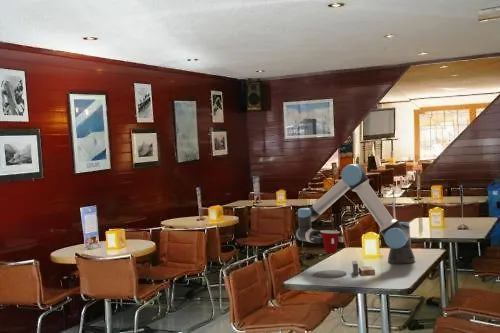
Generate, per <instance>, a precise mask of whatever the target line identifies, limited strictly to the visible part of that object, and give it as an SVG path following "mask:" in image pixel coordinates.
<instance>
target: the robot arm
mask: <svg viewBox="0 0 500 333" xmlns="http://www.w3.org/2000/svg"><path fill="white" fill-rule="evenodd" d="M340 177H341V179H339V181H337V183H335V184H334V185H333V186H331V188H330V189H329V190H327V192H326V193H324V194H323V195H322V196H321V197H319V199H318V200H317V201H316V202H315V203H314V204H312V205H311V206H310V207H301V208H299V209H297V219H298V220H297V221H298V229H297V230H296V232H295V236H296V238H297V240H299V241H303V242H309V243H313V244H320V243H323V239H322V235H321V232H320V231H321V230H320V229H319V230H318V229H313V228H312V222H314V221H316V220H317V219H318V218H319V217H320V216H321V215H322V214H323V213H324V212H325V211H327V209H328V208H330V207H331V206H332V205H333V204H334V203H336V201H337V200H339V199H340V198H341V197H342V196H344V194H346V192H347V191H349V190H351V191H352V192H355V193H356V194H357V195H358V197H359V199H360V200H361V201H362V203H363V204H364V206H365V207H366V209H367V210H368V212H369V213H370V214H371V215H372V217H373V219H374V220H375V221H376V223H377V224H378V226H379V232H380V233H381V235H382V237H383V239H384V242H385V244H386V246H388V247H389V248H390V249H389V253H388V256H387V262H388V263H389V264H397V265H402V264H404V265H405V264H411V263H412V264H413V263H414V262H416V257H415V255H414V252H413V249H412V245H411V243H412V242H411V231H410V229H411V227H410V223H409V222H408V221H399V220H398V219H395V218H394V217H393V216H392V215H391V214H390V212H389V211H388V209H387V208H386V207H385V205H384V203H383V202H382V200H381V199H380V198H379V196H378V195H377V193H376V191H374V189H373V188H372V186H371V185H370V179H369V177H368V175H367V170H366V168H365V167H364V165H362V164H361V163H360V164H359V163H350V164H347V165H346V166H344V168H343V169H342V170H341V175H340ZM338 242H339V243H344V237H343V236H340V235H339V236H338ZM332 244H334V238H332Z"/></svg>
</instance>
